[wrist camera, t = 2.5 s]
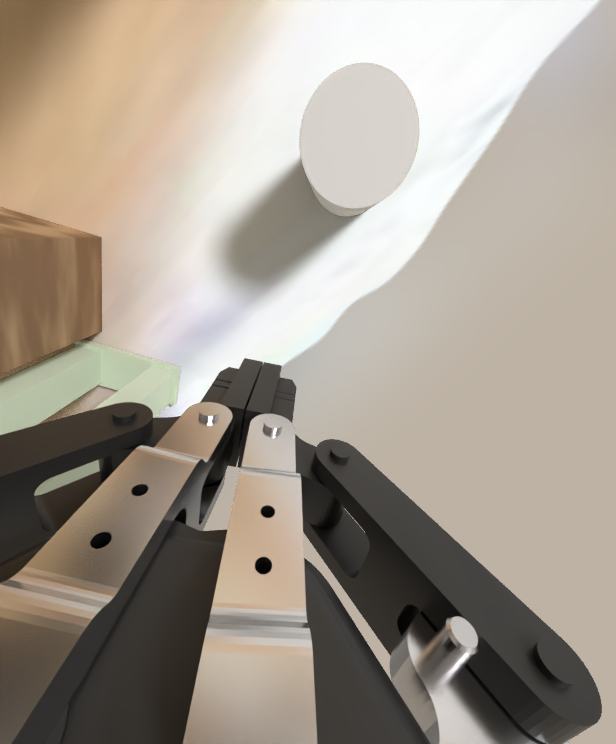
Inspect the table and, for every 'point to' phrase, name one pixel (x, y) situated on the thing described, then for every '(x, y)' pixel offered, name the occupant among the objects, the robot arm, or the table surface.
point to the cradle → (83, 390)
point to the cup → (358, 138)
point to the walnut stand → (46, 287)
